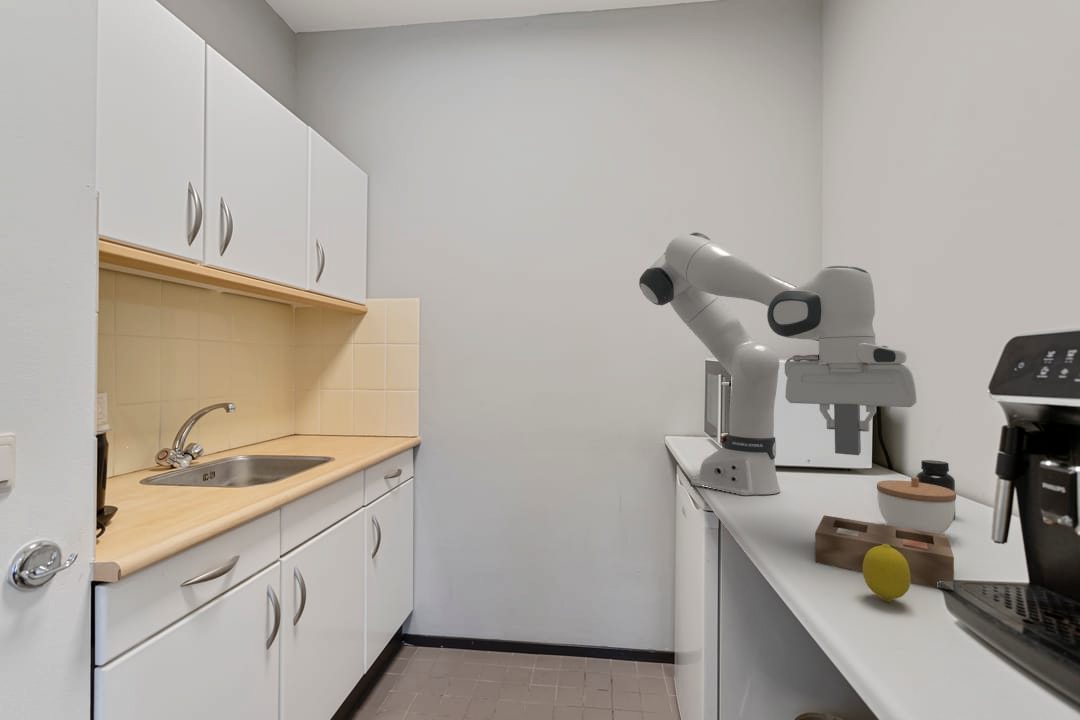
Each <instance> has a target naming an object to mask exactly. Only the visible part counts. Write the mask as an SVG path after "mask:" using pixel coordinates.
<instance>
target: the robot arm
mask: <svg viewBox="0 0 1080 720" xmlns="http://www.w3.org/2000/svg"><path fill="white" fill-rule="evenodd" d="M638 283H639V284H638V285H639V288H640V290H641V292H642V295H644V297H645V298H646V299H647V300H648V301H649V302H651V303H653V304H654V305H657V306H664V305H667V304H668V303H670V306H671V307H672V308H673V310H674V311H675V313H676V314H677V316H678V317H679V318H680V319H681V321H682V322H683V323H684V324H685V325H686V326H687V327H688V329H689V330H691V332H692V333H693V334H694V335H695V336H696V337H697V338H698V339H699V341H700V342H702V344H703V345H704V346H705V347H706V349H708V350H709V352H710V353H711V354H712V355H713V356H714V358H715V359H716V360H717V361H718V363H719V364H720V365H721V367H723V368H724V370H725V371H726V372H727V373H728V374H729V376H730V377H732V378H731V379H732V380H731V381H732V382H731V390H730V391H731V393H730V402H729V411H728V412H729V416H728V417H729V418H728V419H729V423H728V424H729V428H728V429H729V431H728V433H726V434H724V435H723V436H722V437H721V438H720V443H721V446H722V447H721V448H719V449H718V450H716V451H715V452H714V453H712V454H711V455H709V456H708V457H706V458H705V459H704V460H703V461H702V463H701V465H700V469H699V474H698V475H695V476H692V478H691V479H690V483H691V485H692V486H695V487H700V486H702V485H704V486H708V487H711V488H715V489H719V490H723V491H722V492H724V491H726V492H725V493H729V492H731V494H734V493H736V494H735V495H739V494H740V496H753V495H773V494H778V493H780V492H781V489H780V485H779V482H778V477H777V471H776V463H775V459H776V455H777V441H776V437H775V436H774V435H775V433H774V432H775V431H774V430H775V424H774V423H775V422H774V421H775V420H774V419H775V416H774V415H775V401H776V396H777V388H778V381H779V380H778V377H779V371H780V370H779V369H780V359H779V356H778V354H777V353H776V351H775V350H774V349H773V348H771V347H770V346H769V345H767V344H765V343H760V342H756V341H755V340H754V338H753V337H752V335H750V333H749V332H748V331H747V330H746V328H745V326H744V325H743V324H742V323H741V321H740V320H739V319H738V317H737V316H736V315H735V314H734V313H733V312H732V311H731V310H730V309H729V308H728V306H727V305H725V304H724V303H723V302H722V300H720V298H719V297H726V298H734V299H735V298H736V299H743V300H749V301H754V302H757V303H761V304H762V305H764V306H767V312H766V314H767V315H766V317H767V318H766V319H767V322H768V326H769V327H770V329H771V331H772V332H774V333H775V334H776V335H777V336H778V335H779V336H780V337H784V338H787V339H799V340H809V341H817V342H818V354H808V355H801V354H797V355H792V357H789V358H788V359H786V360H785V362H784V375H785V376H786V384H785V385H786V386H785V399H786V401H788V402H789V404H807V405H808V404H810V405H819V412H820V413H821V414H822V416H823V418H824V420H826V429H827V430H834V431H835V423H834V418H832V417H831V415H830V413H829V410H830V408H831V407H830V406H831V405H832V406H834V404H858V405H860V406H865V411H866V413H868V415H867V416H866V418H865V419H864V420H860V421H859V426H860V427H859V431H860V432H870V422H871V420H872V419H873V417H874V416H875V415H876V413H877V407H894V408H895V407H896V408H898V407H899V408H912V407H913V406H915V405H916V403H917V392H916V391H917V390H916V383H915V380H914V376H913V373H912V371H911V369H910V368H909V367H908V366H906V365H905V364H904V363H906V361H907V353H906V352H905V351H903V350H900V349H896V348H891V347H889V346H886V345H878V344H877V343H876V333H875V330H874V328H873V327H874V326H873V322H874V317H875V312H876V303H875V290H874V285H873V279H872V277H871V275H870V273H869V272H868V271H867V270H865V269H864V268H859V267H856V266H848V265H846V266H845V265H844V266H843V265H835V266H834V265H832V266H831V265H830V266H827V267H824V268H822V269H821V270H820V271H819V272H818V273H817V274H816V275H815V276H814V277H812V278H811V279H809V280H807V281H805V282H804V283H802V284H800V285H798V286H795V285H794V284H791V283H790V282H787V281H784V280H782V279H780V278H778V277H776V276H774V275H771V274H769V273H767V272H766V271H765V270H762V269H760V268H759V267H757V266H756V265H754V264H753V263H751V262H749V261H748V260H746V259H745V258H743V257H742V256H740V255H738V254H737V253H735V252H734V251H732V250H731V249H729V248H727V247H725V246H723V245H721V244H720V243H717V242H715V241H713V240H711V239H710V238H709V237H708V236H706V235H705V234H703V233H700V232H692V233H690V234H687V233H686V234H680V235H677V236H675V237H674V238H673V239H672V240H671V241H670V242H669V243H668V245H667V247H666V249H665V252H664V253H663V254H662V255H661V256H660V257H659V258H658V259H657V260H655V262H654V263H653V264H652V265H651V266H650V267H649V268H647V269H645V271H644V272H643V273H642V275H641V276H640V277H639V281H638ZM719 490H718V491H719Z"/></svg>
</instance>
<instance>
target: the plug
mask: <svg viewBox="0 0 1080 720" xmlns="http://www.w3.org/2000/svg"><path fill="white" fill-rule="evenodd" d="M860 406H861V405H858V404H834V405H833V409H834V411H833V413H834V414H833V415H834V417H833V419H834V423H835V430H834V453H835V454H837V455H840V454H841V455H848V456H849V455H850V456H851V455H852V456H860V454H861V453H862V449H861V447H862V445H861V443H862V442H861V431H859V427H860V426H859V421H861V407H860Z"/></svg>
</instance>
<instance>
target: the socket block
mask: <svg viewBox="0 0 1080 720" xmlns="http://www.w3.org/2000/svg"><path fill="white" fill-rule="evenodd" d="M814 537H815V538H814V540H815V541H814V552H815V553H814V562H815V561H816V562H815V563H818V562H820V563H819V564H822V563H824V564H823V565H827V564H828V566H832V565H833V567H837V568H841V569H842V568H843V569H847V570H851V571H856V572H861V573H863V561H864V558H865V555H866V553H867V552H868V551H869V550H870V549H872V548H873V547H876V546H882V545H883V544H888V545H889V546H890V547H891V548H894V549H895V550H897V551H898V552H900V553H901V554H902V555H903V557H904V558H905V559H906V561H907V563H908V566H909V570H910V578H911V580H910V583H913V584H918V585H922V586H927V587H933V588H935V589H936V588H937V582H939V581H954V582H955V580H954V579H955V566H954V565H955V556H954V553H953V550H952V549H953V548H952V546H951V542H950V540H949V535H948V534H944V533H942V534H937V533H931V532H925V531H918V530H912V529H906V528H900V527H894V526H890V525H889V524H888V525H886V524H880V523H873V522H867V521H863V520H862V521H861V520H858V519H857V520H856V519H850V518H844V517H838V516H837V517H836V516H830V515H825V514H824V515H823V516H822V518H821V520H820V522H819V524H818V526H817V528H816V530H815V533H814ZM937 589H938V588H937Z"/></svg>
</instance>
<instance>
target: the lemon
mask: <svg viewBox="0 0 1080 720" xmlns="http://www.w3.org/2000/svg"><path fill="white" fill-rule="evenodd" d="M862 576H863V579H864V583H865V584H866V586H867V587H868V588H869V589H870V591H871V592H872V593H874V594H875V595H877V596H878V597H880V598H881V600H882V601H884V602H887V603H888V602H890V601H892V600H895V599H896V600H897V599H900V598H902V597H903V596H905V594H907V593H908V591H909V589H910V586H911V582H910V580H911V578H910V570H909V566H908V563H907V561H906V559H905V558H904V557H903V555H902V554H901V553H900V552H898V551H897V550H895V549H894V548H891V547H890V546H889V545H888V544H883V545H882V546H876V547H873V548H872V549H870V550H869V551H868V552H867V553H866V555H865V558H864V561H863V572H862Z"/></svg>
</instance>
